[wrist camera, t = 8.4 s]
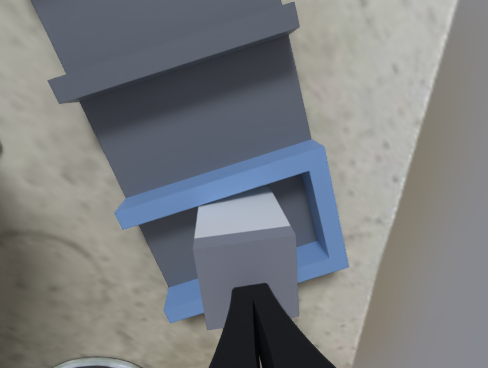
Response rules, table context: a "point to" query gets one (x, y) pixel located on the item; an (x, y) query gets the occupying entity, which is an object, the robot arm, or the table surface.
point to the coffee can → (96, 363)
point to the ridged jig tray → (196, 121)
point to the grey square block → (244, 251)
